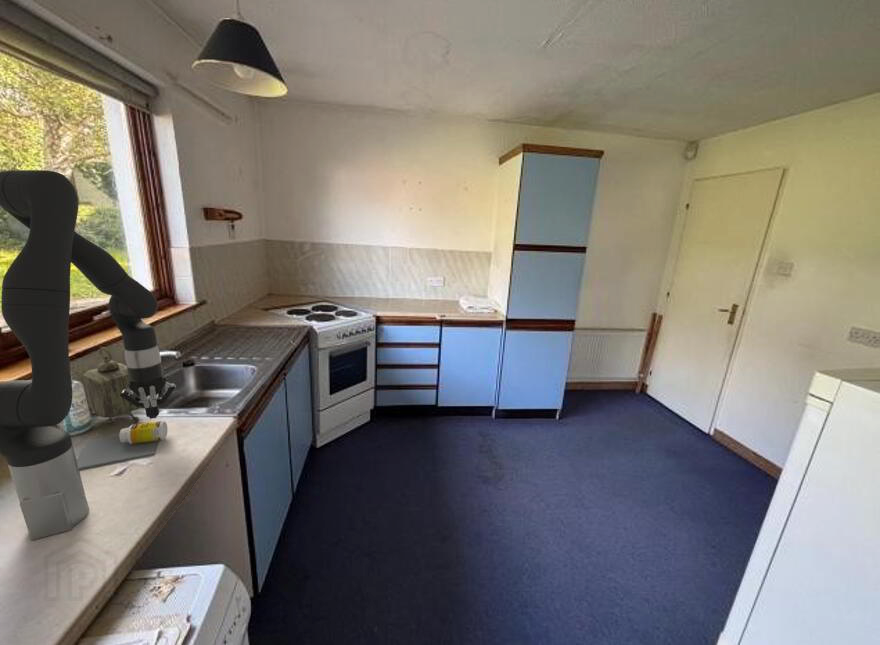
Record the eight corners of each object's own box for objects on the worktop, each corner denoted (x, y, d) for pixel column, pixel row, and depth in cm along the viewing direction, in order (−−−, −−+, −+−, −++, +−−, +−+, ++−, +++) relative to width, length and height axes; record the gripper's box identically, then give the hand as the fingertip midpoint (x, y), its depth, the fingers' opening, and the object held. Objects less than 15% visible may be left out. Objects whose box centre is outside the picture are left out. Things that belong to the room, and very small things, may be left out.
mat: (154, 454, 102) (153, 453, 102) (70, 471, 94) (69, 469, 94) (163, 429, 114) (163, 427, 114) (89, 441, 106) (89, 440, 106)
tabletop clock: (145, 421, 118) (131, 349, 111) (110, 434, 110) (93, 357, 103) (124, 408, 125) (110, 339, 118) (90, 419, 117) (72, 346, 110)
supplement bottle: (161, 422, 106) (117, 428, 102) (162, 441, 106) (118, 448, 102) (167, 418, 111) (125, 423, 107) (168, 436, 111) (126, 442, 107)
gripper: (108, 370, 95) (120, 428, 100) (170, 363, 101) (179, 419, 106) (117, 360, 101) (128, 415, 106) (175, 354, 107) (182, 407, 112)
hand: (153, 417), depth 106 cm, fingers closed
